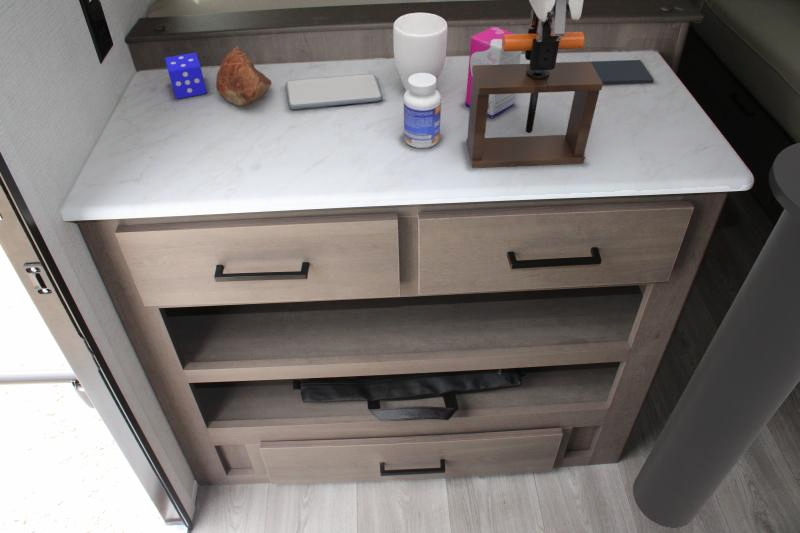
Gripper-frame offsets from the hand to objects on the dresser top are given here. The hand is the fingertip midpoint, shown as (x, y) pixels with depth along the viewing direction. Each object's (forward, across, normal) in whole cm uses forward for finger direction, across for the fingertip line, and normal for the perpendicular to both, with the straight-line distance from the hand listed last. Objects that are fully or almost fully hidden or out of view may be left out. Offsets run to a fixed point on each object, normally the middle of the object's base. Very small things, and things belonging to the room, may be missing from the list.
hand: (539, 62), depth 82 cm
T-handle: (+11, 0, 0) cm, 11 cm away
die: (+14, +22, +52) cm, 58 cm away
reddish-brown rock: (+14, +20, +42) cm, 49 cm away
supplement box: (+14, +14, +3) cm, 20 cm away
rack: (+14, 0, 0) cm, 14 cm away
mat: (+14, +22, -17) cm, 32 cm away
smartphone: (+14, +19, +28) cm, 36 cm away
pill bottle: (+14, +5, +15) cm, 21 cm away
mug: (+14, +21, +14) cm, 29 cm away
